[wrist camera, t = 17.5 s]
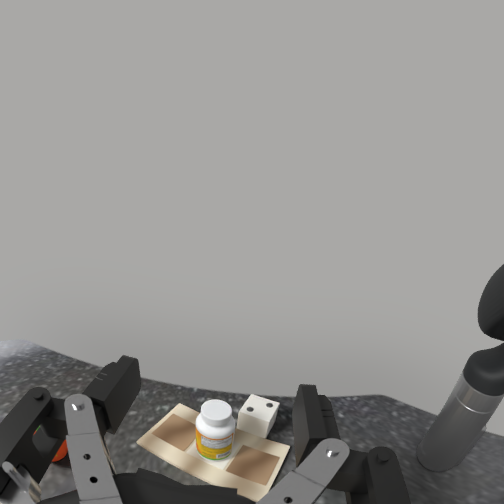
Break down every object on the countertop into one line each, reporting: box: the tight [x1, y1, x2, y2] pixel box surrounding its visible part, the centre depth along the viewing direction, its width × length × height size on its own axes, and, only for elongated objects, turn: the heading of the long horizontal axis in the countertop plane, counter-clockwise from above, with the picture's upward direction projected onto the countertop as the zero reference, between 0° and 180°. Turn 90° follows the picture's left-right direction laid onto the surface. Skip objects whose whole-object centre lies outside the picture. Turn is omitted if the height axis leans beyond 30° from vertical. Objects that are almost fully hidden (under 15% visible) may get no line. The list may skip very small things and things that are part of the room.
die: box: [237, 394, 280, 439], centre depth 40 cm, size 5×5×5 cm
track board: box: [137, 403, 290, 502], centre depth 33 cm, size 20×12×1 cm, turn 67°
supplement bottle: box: [196, 400, 235, 462], centre depth 32 cm, size 5×5×10 cm
